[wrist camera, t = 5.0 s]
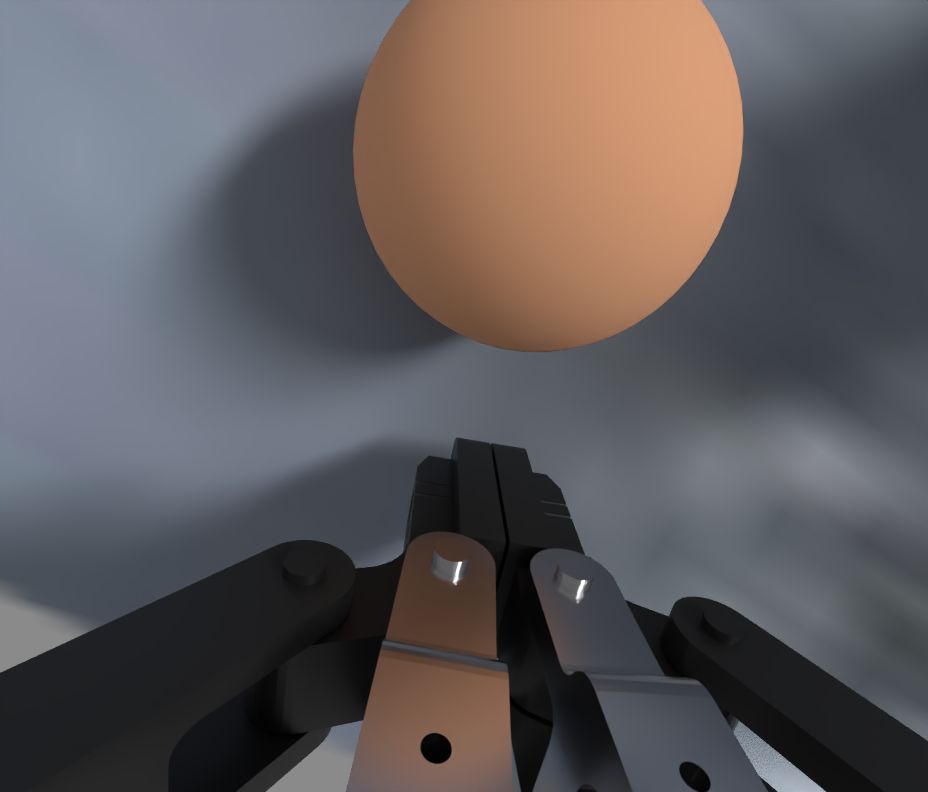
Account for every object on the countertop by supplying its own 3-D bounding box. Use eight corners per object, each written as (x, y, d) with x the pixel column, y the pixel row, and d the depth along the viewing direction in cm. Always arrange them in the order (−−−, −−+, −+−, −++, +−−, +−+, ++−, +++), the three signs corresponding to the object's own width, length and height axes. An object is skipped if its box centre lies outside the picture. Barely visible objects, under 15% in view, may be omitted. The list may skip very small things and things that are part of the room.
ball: (696, 51, 10) (952, -84, 5) (606, 333, 12) (726, 443, 7) (404, -29, 10) (357, -276, 4) (357, 280, 11) (287, 358, 6)
